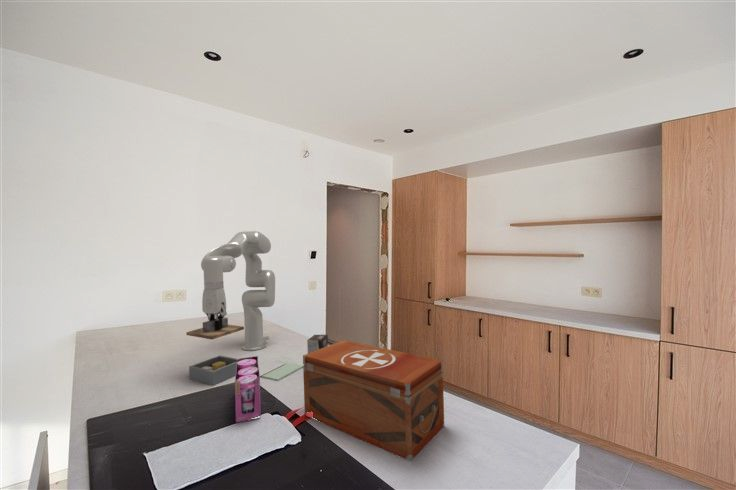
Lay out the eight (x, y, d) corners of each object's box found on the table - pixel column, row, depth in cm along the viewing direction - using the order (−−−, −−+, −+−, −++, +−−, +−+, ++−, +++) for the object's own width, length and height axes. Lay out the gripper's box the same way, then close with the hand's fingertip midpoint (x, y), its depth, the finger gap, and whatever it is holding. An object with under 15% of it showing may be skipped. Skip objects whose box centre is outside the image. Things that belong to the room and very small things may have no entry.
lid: (219, 327, 155) (218, 314, 155) (244, 330, 147) (243, 317, 147) (186, 336, 141) (186, 322, 141) (212, 341, 133) (211, 326, 133)
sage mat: (276, 361, 162) (276, 360, 162) (304, 366, 154) (304, 365, 154) (248, 374, 147) (248, 373, 147) (278, 380, 139) (278, 379, 139)
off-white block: (206, 375, 145) (205, 366, 145) (212, 376, 143) (212, 367, 143) (197, 378, 141) (197, 369, 141) (204, 380, 139) (203, 370, 139)
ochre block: (219, 370, 150) (219, 361, 150) (226, 371, 148) (225, 362, 148) (212, 373, 147) (211, 364, 147) (218, 374, 145) (217, 365, 145)
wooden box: (345, 392, 127) (343, 339, 127) (446, 426, 102) (444, 360, 102) (303, 415, 111) (301, 355, 110) (411, 462, 86) (409, 384, 85)
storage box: (220, 369, 154) (219, 355, 154) (243, 374, 147) (243, 359, 147) (189, 382, 141) (189, 366, 141) (213, 388, 134) (213, 372, 134)
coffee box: (322, 379, 140) (321, 340, 139) (307, 378, 141) (306, 339, 141) (329, 370, 148) (328, 334, 148) (315, 370, 150) (314, 333, 150)
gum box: (261, 420, 108) (260, 378, 108) (235, 425, 106) (233, 382, 105) (259, 390, 131) (258, 355, 131) (237, 394, 128) (236, 358, 128)
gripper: (193, 286, 144) (195, 329, 145) (219, 288, 136) (221, 333, 137) (209, 284, 151) (210, 324, 151) (234, 285, 143) (236, 328, 144)
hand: (215, 328), depth 144 cm, fingers closed on lid, 3 cm apart
